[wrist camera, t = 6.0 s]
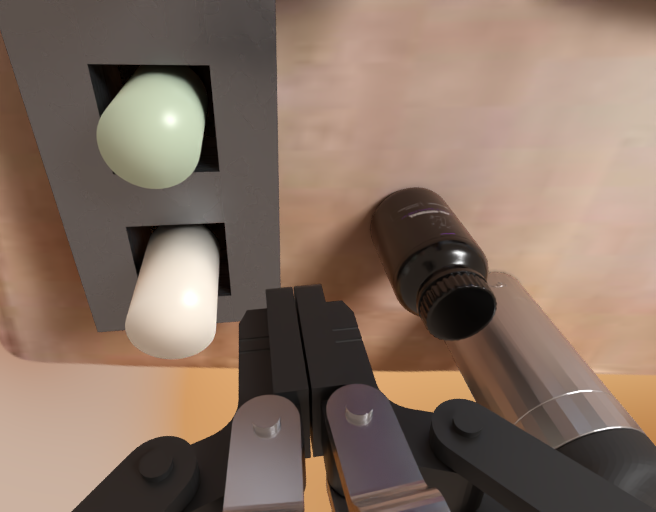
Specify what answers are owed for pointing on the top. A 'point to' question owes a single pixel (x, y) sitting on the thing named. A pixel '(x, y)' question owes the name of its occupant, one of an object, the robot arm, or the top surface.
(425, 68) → the top surface
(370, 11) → the top surface
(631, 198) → the top surface
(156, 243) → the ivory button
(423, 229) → the supplement bottle
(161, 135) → the pale green rounded peg
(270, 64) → the three peg holder
